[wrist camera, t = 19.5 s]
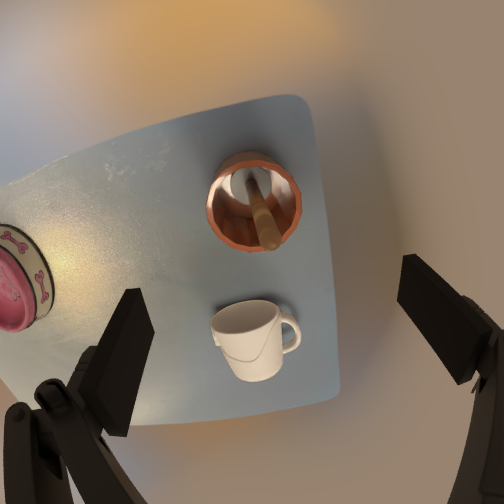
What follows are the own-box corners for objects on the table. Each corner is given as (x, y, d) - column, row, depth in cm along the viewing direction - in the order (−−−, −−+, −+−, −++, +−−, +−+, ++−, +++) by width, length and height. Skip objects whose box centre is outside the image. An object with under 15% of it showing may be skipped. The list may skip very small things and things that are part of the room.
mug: (227, 352, 49) (227, 387, 42) (211, 306, 46) (208, 341, 38) (299, 336, 49) (309, 370, 42) (290, 289, 45) (301, 321, 38)
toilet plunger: (222, 177, 38) (215, 235, 18) (254, 154, 37) (283, 188, 17) (245, 207, 39) (261, 292, 20) (276, 185, 38) (325, 250, 19)
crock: (208, 155, 37) (200, 167, 28) (282, 147, 37) (298, 156, 28) (218, 225, 41) (214, 257, 32) (287, 217, 41) (303, 246, 32)
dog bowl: (20, 330, 46) (4, 351, 40) (-32, 253, 39) (-53, 269, 33) (73, 298, 44) (56, 322, 38) (13, 203, 37) (-13, 217, 30)
